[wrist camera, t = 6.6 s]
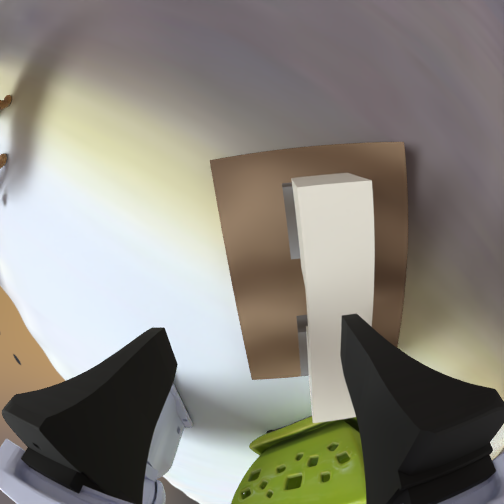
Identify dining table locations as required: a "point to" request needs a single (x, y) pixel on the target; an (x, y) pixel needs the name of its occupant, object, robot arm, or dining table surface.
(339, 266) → the cream bar
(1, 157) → the lion figurine
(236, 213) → the brown rectangular board
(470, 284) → the dining table surface
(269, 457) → the flower pot
